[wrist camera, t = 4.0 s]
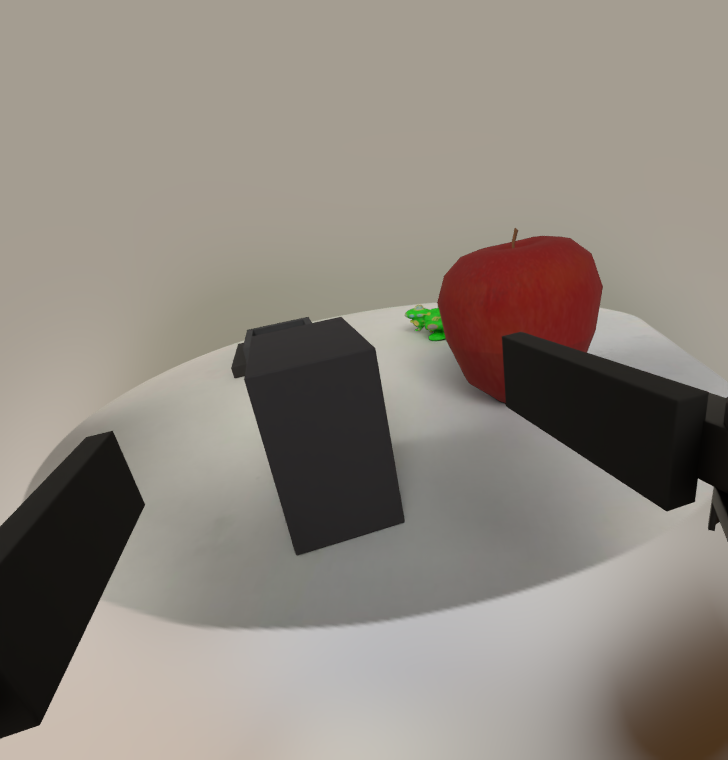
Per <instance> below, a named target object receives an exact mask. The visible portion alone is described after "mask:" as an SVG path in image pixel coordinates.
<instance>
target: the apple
mask: <svg viewBox="0 0 728 760" xmlns="http://www.w3.org/2000/svg"><path fill="white" fill-rule="evenodd" d="M517 232H518V230H517V229H516V228H515V229H514V235H513V239H512V242H510V243H505V244H501V245H496V246H491V247H487V248H483V249H480V250H477V251H475V252H472V253H470V254H467V255H465V256H462V257H460V258H459V260H458V261H457V262H456V263H455V264H454V265H453V266H452V268H451V269H450V270H449V271H448V272H447V273H446V275H445V276H444V279H443V283H442V287H441V291H440V294H439V299H438V302H437V303H438V307H439V312H440V316H441V320H442V325H443V329H444V333H445V338H446V341H447V342H448V344H449V346H450V348H451V350H452V352H453V354H454V356H455V358H456V360H457V362H458V364H459V366H460V368H461V370H462V372H463V374H464V376H465V377H466V379H467V380H468V382H469V383H470V384H471V385H473V386H475V387H477V388H478V389H480V390H482V391H483V392H485V393H487V394H489V395H490V396H492V397H494V398H495V399H497V400H498V401H500V402H504V403H506V399H505V383H504V366H503V349H502V336H505V335H509V334H513V333H517V332H524V333H527V334H530V335H533V336H536V337H540V338H543V339H546V340H549V341H552V342H555V343H558V344H561V345H564V346H567V347H570V348H574V349H577V350H580V351H583V352H586V353H587V351H588V348H589V346H590V343H591V341H592V338H593V335H594V333H595V330H596V324H597V318H598V312H599V306H600V300H601V294H602V288H603V286H602V283H601V280H600V277H599V274H598V271H597V268H596V265H595V262H594V259H593V257H592V254H591V253H590V252H589V251H587V250H586V249H584V248H583V247H582V246H580V245H579V244H578V243H576V242H575V241H573V240H572V239H571V238H565V237H553V236H538V237H531V238H527V239H523V240H518V241H515V240H516V236H517Z"/></svg>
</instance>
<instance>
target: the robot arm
mask: <svg viewBox="0 0 728 760" xmlns="http://www.w3.org/2000/svg"><path fill="white" fill-rule="evenodd" d="M502 349H503V366H504V383H505V399H506V406H507V407H508V408H510V409H511V410H513V411H514V412H516V413H517V414H519V415H520V416H522V417H523V418H525V419H526V420H528V421H529V422H531V423H532V424H534V425H536V426H537V427H539V428H540V429H542V430H543V431H545V432H546V433H548V434H549V435H551V436H552V437H554V438H555V439H557V440H558V441H560V442H561V443H563V444H564V445H566V446H568V447H569V448H571V449H572V450H574V451H575V452H577V453H578V454H580V455H581V456H583V457H584V458H586V459H587V460H589V461H590V462H592V463H593V464H595V465H597V466H598V467H600V468H601V469H603V470H604V471H606V472H607V473H609V474H610V475H612V476H613V477H615V478H616V479H618V480H619V481H621V482H622V483H624V484H626V485H627V486H629V487H630V488H632V489H633V490H635V491H636V492H638V493H639V494H641V495H642V496H644V497H645V498H647V499H648V500H650V501H651V502H653V503H655V504H656V505H658V506H659V507H661V508H662V509H664V510H665V511H670V510H672V509H675V508H678V507H681V506H684V505H687V504H690V503H693V502H695V497H696V489H697V481H698V478H699V479H700V480H702V481H704V482H706V483H708V484H710V485H712V486H714V489H713V496H712V503H711V509H710V516H709V523H708V529H709V530H712V531H715V525H716V524H717V523H719V522H720V523H721V526H722V528H723V531H724V533H725V536H726V538H727V541H728V397H727V398H724V397H721V396H718V395H715V394H711V393H709V392H707V391H704V390H700V389H697V388H694V387H691V386H688V385H685V384H682V383H679V382H676V381H673V380H670V379H666V378H663V377H660V376H657V375H654V374H651V373H648V372H645V371H642V370H639V369H635V368H632V367H629V366H626V365H623V364H620V363H617V362H614V361H611V360H608V359H605V358H601V357H598V356H595V355H592V354H589V353H586V352H583V351H580V350H577V349H574V348H570V347H567V346H564V345H561V344H558V343H555V342H552V341H549V340H546V339H543V338H540V337H536V336H533V335H530V334H527V333H524V332H517V333H513V334H509V335H505V336H502ZM144 506H145V503H144V501H143V499H142V497H141V494H140V492H139V490H138V487H137V485H136V483H135V481H134V478H133V476H132V474H131V471H130V469H129V467H128V465H127V462H126V460H125V458H124V455H123V453H122V451H121V449H120V446H119V444H118V442H117V439H116V437H115V435H114V433H113V431H110V432H106V433H102V434H98V435H94V436H90V437H86V438H85V439H84V440H83V441H82V442H81V443H80V444H79V445H78V446H77V447H76V448H75V449H74V450H73V451H72V452H71V454H70V455H69V456H68V457H67V458H66V459H65V460H64V461H63V462H62V463H61V464H60V465H59V466H58V467H57V468H56V469H55V470H54V471H53V472H52V473H51V474H50V475H49V476H48V477H47V478H46V480H45V481H44V482H43V483H42V484H41V485H40V486H39V487H38V488H37V489H36V490H35V491H34V492H33V493H32V494H31V495H30V496H29V497H28V498H27V499H26V500H25V501H24V502H23V503H22V504H21V506H20V507H19V508H18V509H17V510H16V511H15V512H14V513H13V514H12V515H11V516H10V517H9V518H8V519H7V520H6V521H5V522H4V523H3V524H2V525H1V526H0V738H3V737H6V736H9V735H12V734H15V733H18V732H21V731H24V730H27V729H30V728H33V727H36V726H39V725H40V724H41V722H42V720H43V717H44V715H45V713H46V711H47V709H48V707H49V705H50V703H51V701H52V698H53V696H54V694H55V692H56V690H57V688H58V686H59V684H60V682H61V680H62V678H63V676H64V673H65V671H66V669H67V667H68V665H69V663H70V661H71V659H72V657H73V655H74V652H75V650H76V648H77V646H78V644H79V642H80V640H81V638H82V636H83V634H84V631H85V629H86V627H87V625H88V623H89V621H90V619H91V617H92V615H93V613H94V611H95V609H96V606H97V604H98V602H99V600H100V598H101V596H102V594H103V592H104V590H105V588H106V585H107V583H108V581H109V579H110V577H111V575H112V573H113V571H114V569H115V567H116V565H117V562H118V560H119V558H120V556H121V554H122V552H123V550H124V548H125V546H126V544H127V541H128V539H129V537H130V535H131V533H132V531H133V529H134V527H135V525H136V523H137V520H138V518H139V516H140V514H141V512H142V510H143V508H144Z"/></svg>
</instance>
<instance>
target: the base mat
mask: <svg viewBox="0 0 728 760" xmlns="http://www.w3.org/2000/svg"><path fill="white" fill-rule="evenodd" d="M311 323H312V322H311V321H310V319H309V317H306V318H303V319H302V318H301V319H297V320H291V321H287V322H282V323H277V324H273V325H268V326H263V327H259V328H254V329H249V330H247V333H246V337H245V341H244V343H241V344H238V347H237V350H236V354H235V357H234V360H233V364H232V367H231V369H232V372H233V375H234V378H237V377H242V376H245V372H246V366H247V360H248V354H249V348H250V342H251V337H252V336H256V335H260V334H265V333H270V332H274V331H279V330H283V329H288V328H292V327H297V326H302V325H306V324H311Z"/></svg>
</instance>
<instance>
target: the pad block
mask: <svg viewBox="0 0 728 760" xmlns="http://www.w3.org/2000/svg"><path fill="white" fill-rule="evenodd" d="M244 380H245V384H246V387H247V390H248V394H249V397H250V401H251V404H252V407H253V411H254V414H255V418H256V421H257V424H258V428H259V431H260V434H261V438H262V441H263V445H264V448H265V451H266V455H267V458H268V462H269V465H270V468H271V472H272V475H273V479H274V482H275V485H276V489H277V492H278V495H279V499H280V502H281V506H282V509H283V512H284V516H285V519H286V523H287V526H288V529H289V533H290V536H291V539H292V543H293V546H294V550H295V553H296V555H300V554H303V553H306V552H309V551H313V550H316V549H319V548H322V547H326V546H329V545H332V544H335V543H339V542H342V541H345V540H348V539H352V538H355V537H358V536H361V535H365V534H368V533H371V532H374V531H378V530H381V529H384V528H387V527H391V526H394V525H397V524H400V523H404V515H403V509H402V503H401V497H400V491H399V485H398V479H397V473H396V467H395V462H394V456H393V450H392V444H391V438H390V432H389V426H388V420H387V415H386V409H385V403H384V397H383V391H382V385H381V379H380V373H379V367H378V362H377V356H376V350H375V348H374V347H373V346H372V345H371V344H370V343H369V342H368V341H367V340H366V339H365V338H364V337H362V336H361V335H360V334H359V333H358V332H357V331H356V330H355V329H354V328H353V327H352V326H350V325H349V324H348V323H347V322H346V321H345V320H344V319H343V318H342V317H338V318H334V319H329V320H325V321H320V322H315V323H311V324H306V325H302V326H297V327H292V328H288V329H283V330H279V331H274V332H270V333H265V334H260V335H256V336H252V337H251V342H250V348H249V354H248V360H247V366H246V372H245V378H244Z"/></svg>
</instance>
